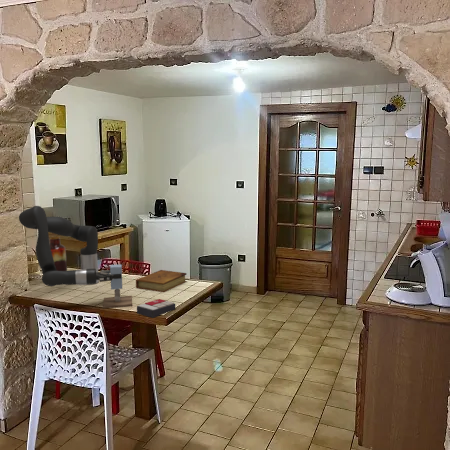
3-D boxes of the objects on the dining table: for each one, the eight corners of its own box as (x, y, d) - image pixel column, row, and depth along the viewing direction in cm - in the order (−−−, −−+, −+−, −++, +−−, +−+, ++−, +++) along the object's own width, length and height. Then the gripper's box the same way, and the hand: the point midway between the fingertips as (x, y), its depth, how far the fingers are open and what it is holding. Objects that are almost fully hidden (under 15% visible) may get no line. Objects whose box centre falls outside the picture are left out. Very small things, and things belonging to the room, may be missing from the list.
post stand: (103, 299, 236) (103, 284, 235) (131, 297, 239) (131, 282, 238) (102, 308, 223) (101, 292, 222) (132, 306, 226) (131, 290, 225)
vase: (71, 279, 275) (68, 236, 271) (60, 284, 265) (57, 240, 261) (55, 278, 278) (52, 235, 274) (43, 283, 267) (40, 239, 263)
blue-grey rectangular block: (111, 286, 232) (110, 265, 230) (122, 285, 233) (121, 264, 231) (111, 289, 227) (110, 267, 225) (122, 288, 228) (121, 266, 226)
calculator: (175, 302, 221) (152, 309, 209) (175, 311, 221) (152, 318, 209) (159, 298, 227) (136, 304, 215) (159, 306, 228) (136, 313, 216)
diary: (160, 279, 277) (159, 269, 276) (186, 282, 268) (186, 273, 267) (135, 288, 256) (135, 278, 256) (163, 293, 248) (163, 282, 247)
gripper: (84, 272, 218) (121, 270, 222) (86, 265, 232) (121, 264, 236) (85, 288, 219) (121, 285, 223) (87, 280, 233) (122, 278, 237)
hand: (121, 274), depth 229 cm, fingers closed on blue-grey rectangular block, 5 cm apart
